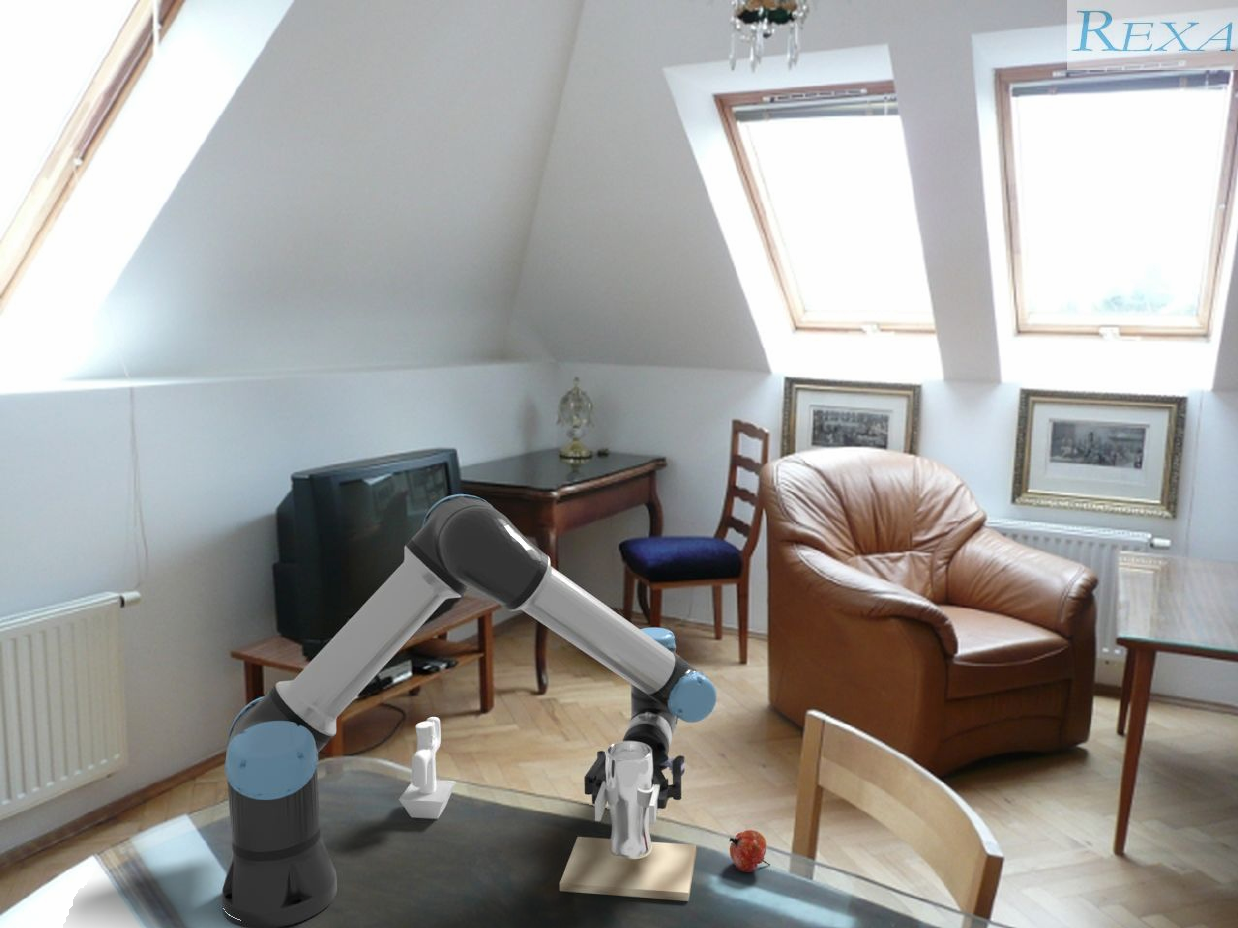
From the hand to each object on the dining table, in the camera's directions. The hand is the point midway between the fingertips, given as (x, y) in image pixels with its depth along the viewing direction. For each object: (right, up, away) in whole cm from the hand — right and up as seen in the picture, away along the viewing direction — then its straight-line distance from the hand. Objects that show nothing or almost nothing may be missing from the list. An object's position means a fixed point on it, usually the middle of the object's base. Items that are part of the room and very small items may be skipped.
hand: (624, 813), depth 143 cm
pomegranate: (+18, -10, +7) cm, 22 cm away
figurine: (-32, -8, +25) cm, 41 cm away
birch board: (+1, -11, +7) cm, 12 cm away
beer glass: (+1, -7, +6) cm, 10 cm away
